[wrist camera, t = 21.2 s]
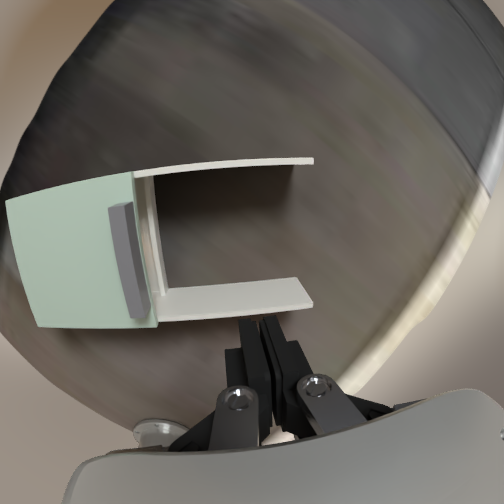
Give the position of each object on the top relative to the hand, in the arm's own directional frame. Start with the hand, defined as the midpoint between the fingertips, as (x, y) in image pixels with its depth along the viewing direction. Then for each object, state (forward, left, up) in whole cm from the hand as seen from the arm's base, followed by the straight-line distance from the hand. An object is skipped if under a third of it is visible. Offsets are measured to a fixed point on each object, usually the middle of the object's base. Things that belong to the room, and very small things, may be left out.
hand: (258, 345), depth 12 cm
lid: (+1, +17, -14) cm, 22 cm away
